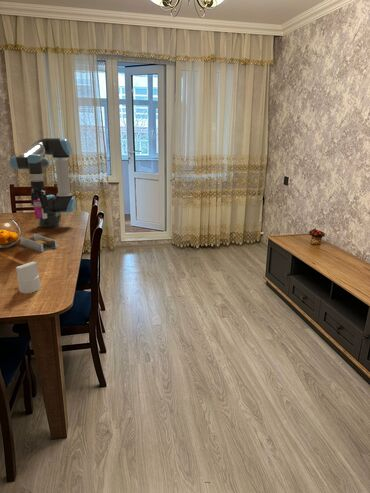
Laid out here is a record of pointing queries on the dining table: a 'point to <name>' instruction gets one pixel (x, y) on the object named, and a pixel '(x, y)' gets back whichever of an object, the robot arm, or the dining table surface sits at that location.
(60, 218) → the food container
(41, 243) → the orange square tile
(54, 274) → the dining table surface
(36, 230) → the dining table surface
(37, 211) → the supplement box
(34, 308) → the dining table surface
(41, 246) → the mounting rail
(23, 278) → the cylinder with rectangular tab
